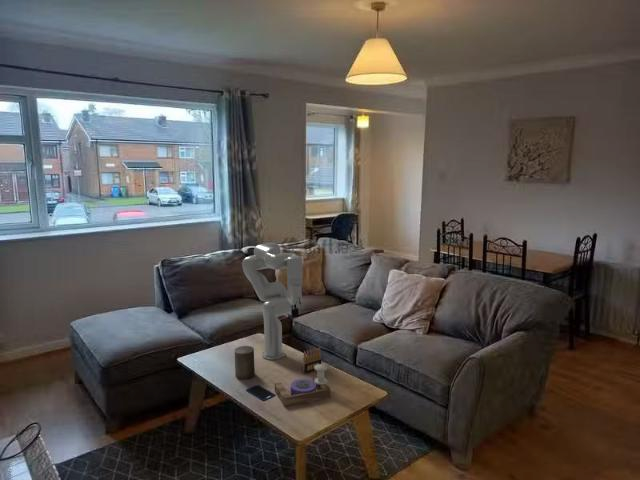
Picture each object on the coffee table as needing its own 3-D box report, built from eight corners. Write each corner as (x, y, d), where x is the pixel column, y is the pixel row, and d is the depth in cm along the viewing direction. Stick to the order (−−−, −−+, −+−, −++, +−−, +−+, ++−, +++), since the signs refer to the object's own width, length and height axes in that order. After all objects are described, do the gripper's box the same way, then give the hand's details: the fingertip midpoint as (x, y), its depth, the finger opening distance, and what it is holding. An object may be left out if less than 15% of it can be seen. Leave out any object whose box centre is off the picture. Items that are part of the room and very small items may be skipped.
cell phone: (263, 402, 207) (263, 400, 207) (245, 391, 217) (245, 389, 217) (276, 396, 212) (276, 394, 212) (257, 385, 222) (257, 384, 222)
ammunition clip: (304, 374, 233) (304, 351, 231) (302, 372, 235) (302, 350, 233) (321, 368, 239) (321, 346, 237) (319, 367, 241) (319, 345, 239)
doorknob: (312, 380, 218) (312, 365, 217) (324, 378, 221) (324, 363, 219) (317, 386, 213) (317, 370, 212) (329, 383, 215) (329, 368, 214)
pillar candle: (258, 375, 232) (257, 346, 229) (242, 381, 225) (241, 352, 222) (247, 369, 239) (246, 341, 236) (231, 375, 232) (230, 346, 229)
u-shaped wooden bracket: (274, 391, 216) (274, 383, 215) (318, 383, 224) (318, 375, 223) (284, 406, 203) (284, 398, 202) (330, 397, 211) (330, 389, 210)
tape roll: (314, 387, 220) (314, 377, 219) (317, 400, 209) (317, 390, 208) (289, 389, 219) (289, 379, 218) (291, 402, 207) (291, 391, 206)
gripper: (282, 277, 233) (283, 312, 237) (292, 285, 220) (292, 322, 223) (296, 276, 236) (297, 310, 240) (307, 284, 223) (307, 320, 226)
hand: (295, 316), depth 231 cm, fingers closed
